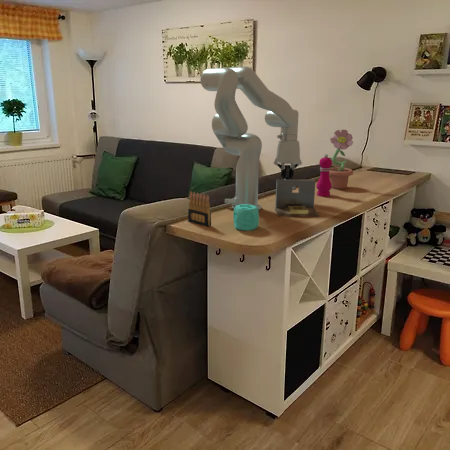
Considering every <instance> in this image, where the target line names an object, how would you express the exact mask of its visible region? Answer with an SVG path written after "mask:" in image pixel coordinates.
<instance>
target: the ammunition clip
mask: <svg viewBox="0 0 450 450" xmlns="http://www.w3.org/2000/svg"><path fill="white" fill-rule="evenodd" d="M188 200H189V201H188V210H187V213H188V214H187V218H188V219H187V222H189V223H192V224H196V225H199V226H203V227H206V228H208V227H209V228H210V227H211V226H212V213H211V206H210V205H211V204H210V197H209V194H205V193H203V194H202V193H199V192H198V191H197V193H196V191H190V192H189V199H188Z"/></svg>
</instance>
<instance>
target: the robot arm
mask: <svg viewBox="0 0 450 450" xmlns="http://www.w3.org/2000/svg"><path fill="white" fill-rule="evenodd" d="M199 79H200V80H199V81H200V85H201V86H202V88H203V89H204V90H205V91H208V92H216V93H215V98H214V102H213V103H214V110H215V114H214V116H213V117H212V120H211V128H212V132H213V133H214V135H215V137H216V138H217V140H218V142H219V143H220V145H221V146H222V148H223V149H224V151H225V152H226V153H228V154H230V155H232V156H233V155H234V156H239V158H238V160H237V163H236V167H235V196H234V197H232V198H224V204H228V205H231V209H233V210H234V208H235V207H236V206H237V205H241V204H250V205H255V206H256V207H257V208H258V211H260V210H261V209H262V205H261V204H260V203H258V202H259V201H258V198H259V173H260V172H259V169H260V167H259V166H260V158H261V152H262V147H263V143H262V140H261V138H260V137H259V136H258V135H256V134H254V133H248V129H249V125H248V122H247V120H246V118H245V117H244V115H243V112H242V111H241V109H240V107H239V106H238V104H237V101H236V91H237V90H240V91H241V92H242V93H243V94H244V95H245V96H246V97H247V99H248V100H249V101H250V103H251V104H252V105H254V106H255V107H258V108H260V109H262V110H266V111H267V112H266V113H265V114H264V122H265V123H266V125H268V126H269V127H273V128H280V133H279V134H278V135H277V136H276V137H277V139H279V140H278V143H277V149H276V157H275V159H274V161H273V165H275V166H276V167H278V168H279V169H280V177H281V179H282V180H284V179H285V170H284V166H285V165H291V169H290V180H293V177H294V171H295V169H297V167H299V166H301V165H303V161H302V160H301V150H300V149H301V147H300V141H299V140H298V130H299V129H298V128H299V111H298V110H297V109H293V107H292V106H291V105H290V103H289V102H288V101H287V100H286V99H284V98H283V97H281V96H280V95H278V94H276V93H275V92H273V91H271V90H270V89H269V88H268V87H267V86H266V85H265V83H264V82H263V80H261V78H260V77H259V76H258V74H257V73H256V72H255V71H254V69H252V68H251V67H249V66H231V67H216V68H215V67H214V68H213V67H211V68H207V69H205V70H204V71H203V72H202V73H201V75H200V78H199Z"/></svg>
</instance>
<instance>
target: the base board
mask: <svg viewBox="0 0 450 450" xmlns="http://www.w3.org/2000/svg"><path fill="white" fill-rule="evenodd" d="M307 209H308V214H291V213H290V212H289V211H288V208H276V207H275V208H274V211H275V212H276V213H277V215H278V216H279V217H285V218H286V217H287V218H288V217H296V218H297V217H319V216H320V213H319V212H318V211H317V210H316V209H315V207H314V208H307Z"/></svg>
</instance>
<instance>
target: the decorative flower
mask: <svg viewBox="0 0 450 450" xmlns="http://www.w3.org/2000/svg"><path fill="white" fill-rule="evenodd" d="M333 134H334V135H333V137H330V143H331V144H333V147H334V148H336V150H335V152H334V154H333V155H332V157H329V158H330V159H331V160H332V164H334V165H337V166H340V167H330V168H331V169H330V172H329V178H330V181H331V184H332V188H331V189H335V190H342V189H343V190H344V189H346V188H347V187H348V183H349V177H350V176H353V175H354V171H353V169H351V168H347V167H345V164H344V163H346V162H347V160H343V161H342V162H341V161H337V156H338V155H339V153H340V155H341V156H343V157H346V154H345V152H344V150H347V149H348V148H349V147H352V145H353V144H354V141H353V138H354V137H353V135H352V133H349V131H348V130H347V129H337V130H335V131H334V133H333Z"/></svg>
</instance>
